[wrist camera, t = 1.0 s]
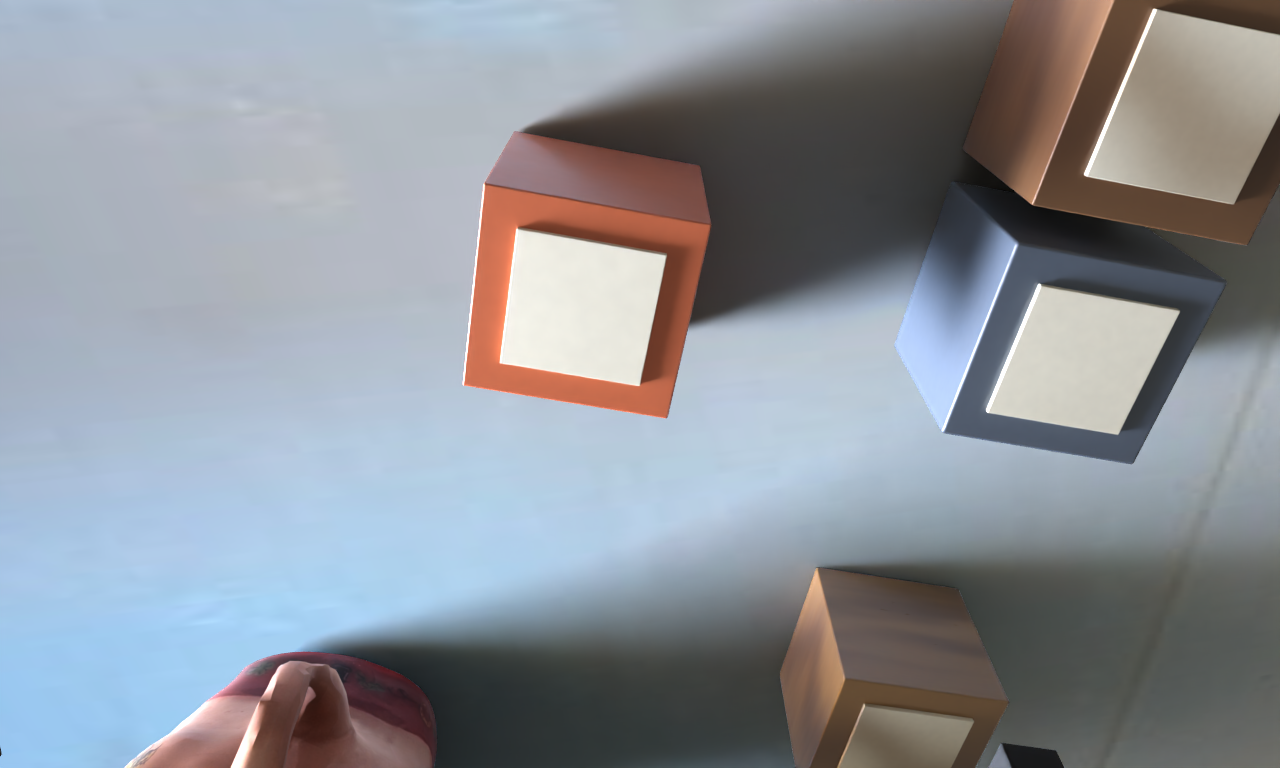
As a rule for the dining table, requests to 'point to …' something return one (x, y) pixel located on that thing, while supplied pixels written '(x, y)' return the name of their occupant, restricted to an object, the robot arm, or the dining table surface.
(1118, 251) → the slate block
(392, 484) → the dining table surface
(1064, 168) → the walnut block
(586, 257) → the terracotta block
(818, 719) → the oak block
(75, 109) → the dining table surface
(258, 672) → the ceramic mug
